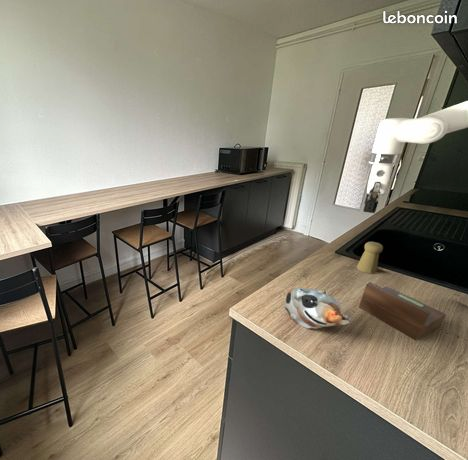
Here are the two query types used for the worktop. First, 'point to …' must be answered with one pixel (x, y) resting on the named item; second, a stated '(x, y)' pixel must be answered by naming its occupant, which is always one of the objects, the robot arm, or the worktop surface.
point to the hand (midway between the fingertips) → (369, 208)
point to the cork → (370, 257)
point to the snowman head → (314, 308)
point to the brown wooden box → (400, 311)
